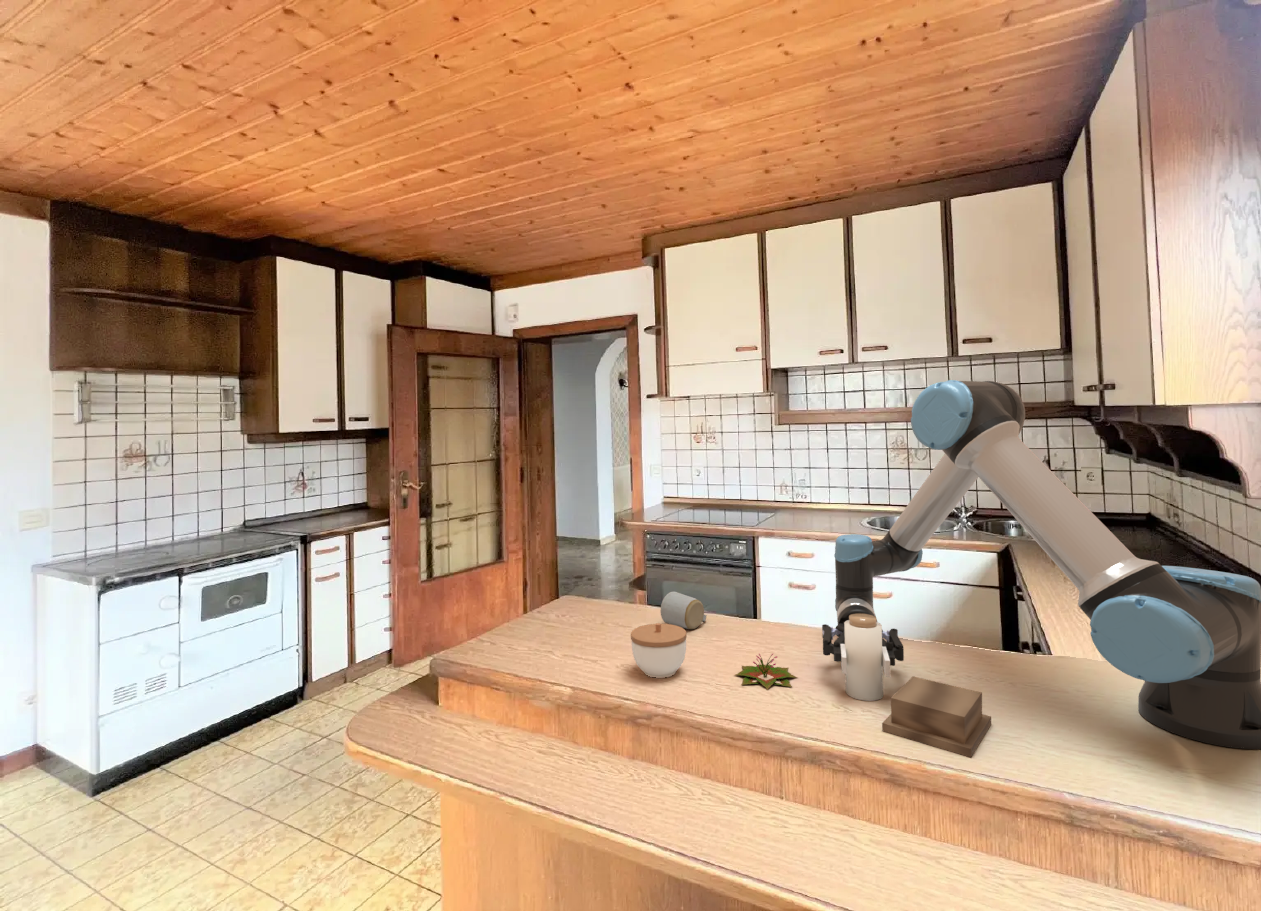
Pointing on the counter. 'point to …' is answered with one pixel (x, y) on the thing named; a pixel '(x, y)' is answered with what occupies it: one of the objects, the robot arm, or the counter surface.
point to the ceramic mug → (682, 610)
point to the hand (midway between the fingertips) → (865, 667)
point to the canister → (864, 657)
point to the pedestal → (938, 715)
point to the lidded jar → (659, 649)
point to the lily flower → (765, 674)
